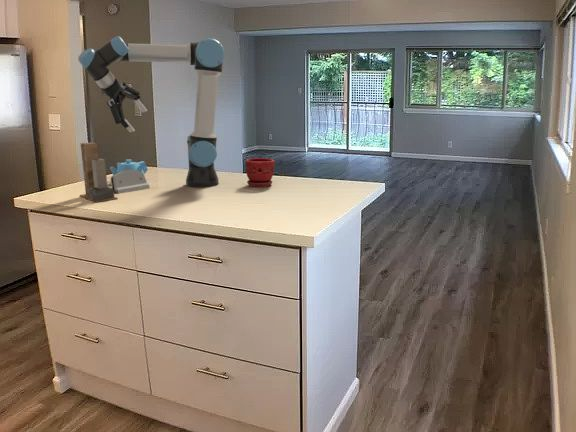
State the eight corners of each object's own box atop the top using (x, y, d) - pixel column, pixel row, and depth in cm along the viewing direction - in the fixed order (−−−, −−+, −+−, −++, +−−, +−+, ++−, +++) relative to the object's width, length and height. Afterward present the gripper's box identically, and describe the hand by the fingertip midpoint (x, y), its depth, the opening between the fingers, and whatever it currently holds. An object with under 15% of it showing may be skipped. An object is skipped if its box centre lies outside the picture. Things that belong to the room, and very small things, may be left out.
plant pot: (269, 188, 254) (268, 161, 251) (241, 187, 258) (240, 161, 255) (278, 183, 266) (278, 157, 263) (252, 182, 270) (251, 157, 267)
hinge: (118, 193, 248) (111, 171, 248) (112, 196, 251) (106, 174, 251) (150, 188, 260) (144, 166, 260) (145, 190, 263) (139, 169, 263)
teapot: (143, 184, 271) (141, 161, 268) (111, 184, 270) (109, 162, 267) (148, 178, 285) (147, 157, 283) (118, 179, 284) (116, 157, 282)
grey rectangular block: (108, 197, 237) (104, 159, 233) (99, 199, 235) (95, 160, 231) (104, 196, 240) (101, 158, 236) (95, 197, 238) (91, 159, 234)
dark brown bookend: (117, 199, 237) (112, 144, 232) (95, 202, 231) (89, 146, 226) (101, 193, 250) (96, 141, 244) (79, 196, 244) (74, 143, 238)
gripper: (114, 67, 249) (143, 105, 262) (88, 104, 233) (120, 141, 247) (127, 63, 245) (155, 101, 258) (101, 100, 230) (133, 138, 243)
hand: (138, 121), depth 253 cm, fingers open, 13 cm apart
